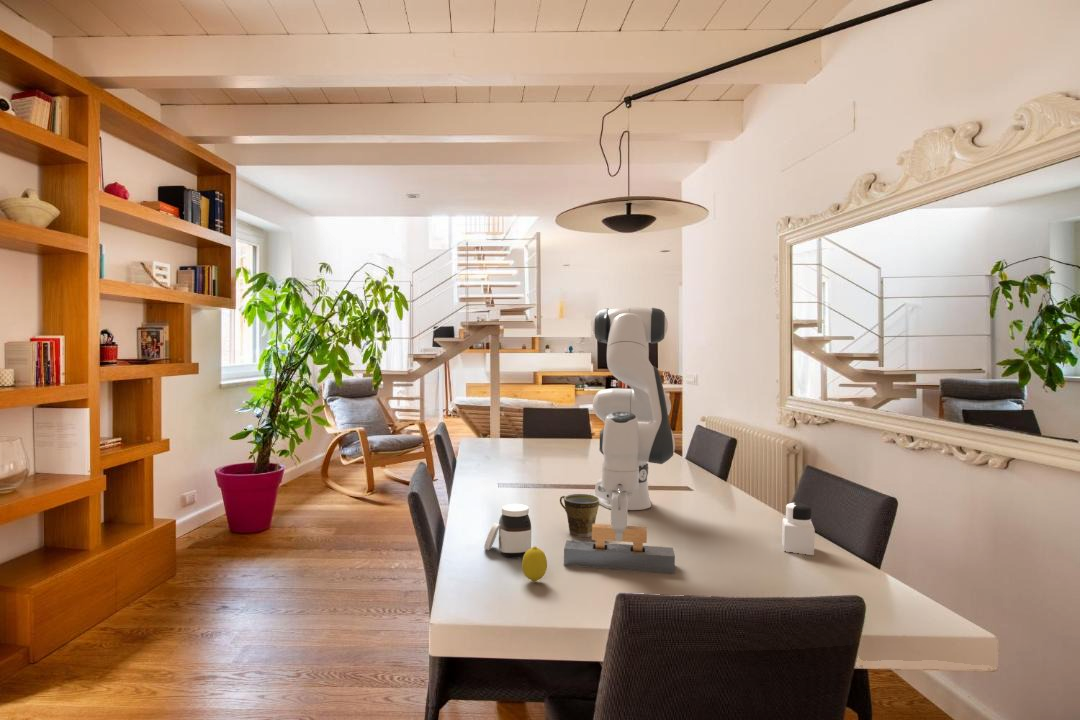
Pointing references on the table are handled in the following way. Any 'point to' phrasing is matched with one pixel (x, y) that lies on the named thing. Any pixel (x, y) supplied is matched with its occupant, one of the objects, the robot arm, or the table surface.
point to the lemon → (534, 564)
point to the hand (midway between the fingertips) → (619, 536)
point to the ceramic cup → (580, 513)
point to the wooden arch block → (629, 535)
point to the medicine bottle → (798, 529)
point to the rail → (619, 557)
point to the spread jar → (512, 531)
